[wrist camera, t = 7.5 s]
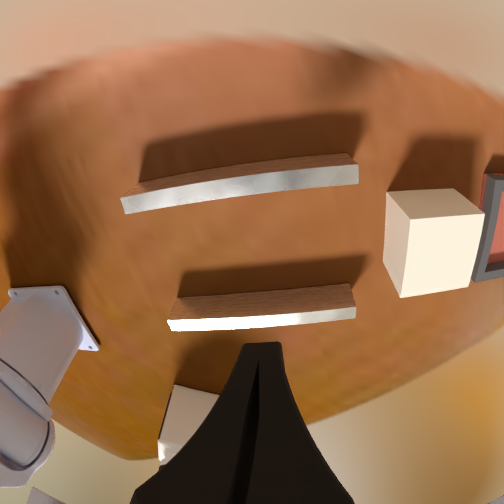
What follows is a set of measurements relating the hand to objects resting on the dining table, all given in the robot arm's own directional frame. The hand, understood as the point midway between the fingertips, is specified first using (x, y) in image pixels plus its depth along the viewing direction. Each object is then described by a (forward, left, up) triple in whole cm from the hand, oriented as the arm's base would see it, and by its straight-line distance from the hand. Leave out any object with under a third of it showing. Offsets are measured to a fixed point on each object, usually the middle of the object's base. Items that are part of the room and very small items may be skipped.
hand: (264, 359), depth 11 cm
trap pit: (+19, 0, -9) cm, 21 cm away
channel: (-1, 0, -9) cm, 9 cm away
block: (+10, 0, -10) cm, 14 cm away
